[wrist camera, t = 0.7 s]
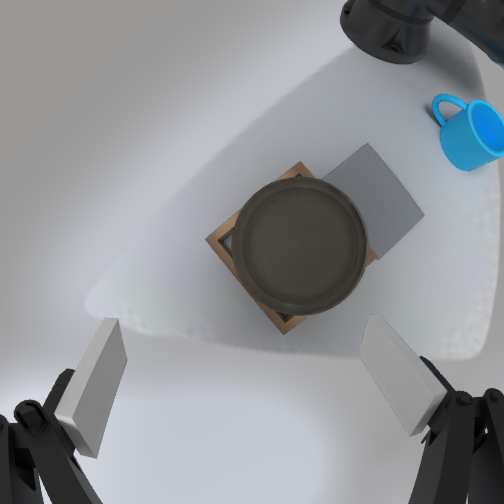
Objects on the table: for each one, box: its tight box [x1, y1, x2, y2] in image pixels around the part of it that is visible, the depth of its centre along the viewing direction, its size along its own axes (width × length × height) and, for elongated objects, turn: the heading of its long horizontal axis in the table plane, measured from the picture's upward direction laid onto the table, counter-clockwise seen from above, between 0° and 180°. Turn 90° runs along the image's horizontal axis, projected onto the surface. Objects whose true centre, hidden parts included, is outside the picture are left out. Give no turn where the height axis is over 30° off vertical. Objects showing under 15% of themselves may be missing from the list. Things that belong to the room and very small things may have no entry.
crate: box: [205, 161, 378, 335], centre depth 33 cm, size 14×14×3 cm
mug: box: [432, 94, 504, 171], centre depth 29 cm, size 12×8×8 cm
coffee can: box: [231, 177, 369, 316], centre depth 28 cm, size 10×10×14 cm
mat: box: [322, 143, 424, 260], centre depth 34 cm, size 9×12×1 cm
